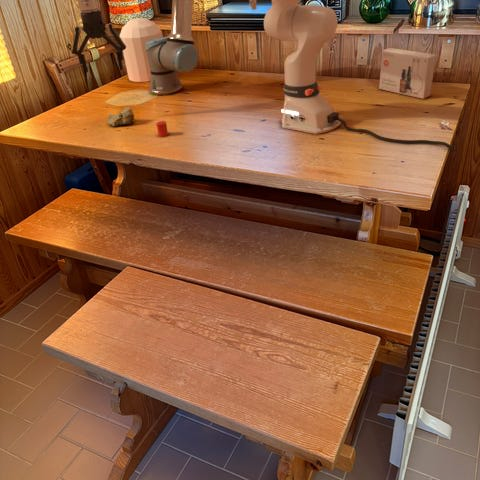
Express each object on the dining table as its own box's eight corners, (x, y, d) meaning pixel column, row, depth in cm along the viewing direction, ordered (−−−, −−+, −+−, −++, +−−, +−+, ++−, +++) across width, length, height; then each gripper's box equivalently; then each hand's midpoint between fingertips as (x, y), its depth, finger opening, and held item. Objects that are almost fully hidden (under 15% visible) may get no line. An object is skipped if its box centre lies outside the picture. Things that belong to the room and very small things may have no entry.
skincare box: (377, 89, 194) (381, 50, 185) (385, 86, 197) (389, 47, 188) (423, 99, 180) (429, 56, 171) (430, 95, 183) (437, 53, 174)
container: (160, 81, 233) (149, 21, 217) (121, 82, 238) (108, 23, 222) (174, 69, 249) (165, 13, 233) (138, 70, 254) (126, 15, 238)
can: (159, 133, 175) (157, 121, 172) (169, 132, 174) (166, 120, 171) (157, 136, 172) (155, 124, 169) (166, 136, 171) (164, 124, 169)
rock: (108, 124, 190) (108, 128, 182) (105, 108, 188) (104, 111, 179) (134, 120, 192) (135, 124, 184) (131, 104, 190) (132, 107, 181)
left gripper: (53, 15, 165) (69, 76, 176) (123, 9, 165) (134, 70, 177) (58, 12, 171) (74, 71, 183) (126, 6, 171) (137, 65, 183)
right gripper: (240, -33, 188) (243, 4, 195) (244, -29, 171) (247, 12, 179) (256, -35, 188) (258, 3, 196) (261, -31, 171) (263, 10, 179)
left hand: (104, 71), depth 180 cm, fingers open, 13 cm apart
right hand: (253, 7), depth 187 cm, fingers open, 8 cm apart
